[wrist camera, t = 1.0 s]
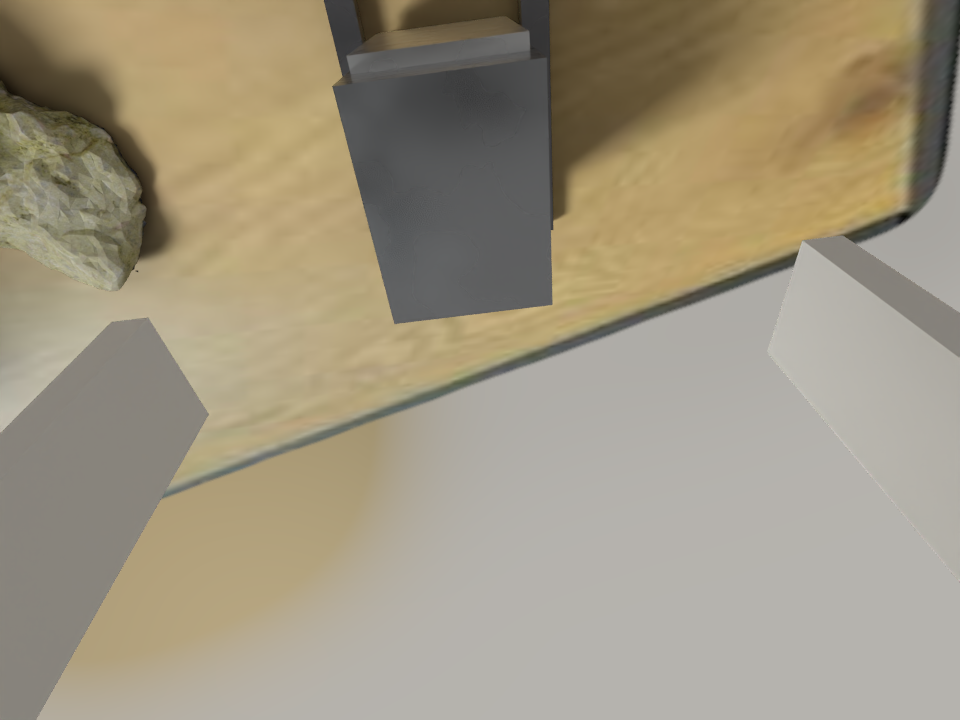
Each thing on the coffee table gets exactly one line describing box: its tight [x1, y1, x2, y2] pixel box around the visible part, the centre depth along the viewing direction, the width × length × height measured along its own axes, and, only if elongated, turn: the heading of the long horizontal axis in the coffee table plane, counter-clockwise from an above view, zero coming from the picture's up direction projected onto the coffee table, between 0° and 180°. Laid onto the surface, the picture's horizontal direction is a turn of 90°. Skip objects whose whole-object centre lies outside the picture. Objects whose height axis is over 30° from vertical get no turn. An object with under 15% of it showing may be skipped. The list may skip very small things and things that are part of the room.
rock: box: [0, 80, 147, 291], centre depth 23 cm, size 11×6×10 cm
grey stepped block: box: [332, 16, 552, 324], centre depth 20 cm, size 6×8×11 cm
